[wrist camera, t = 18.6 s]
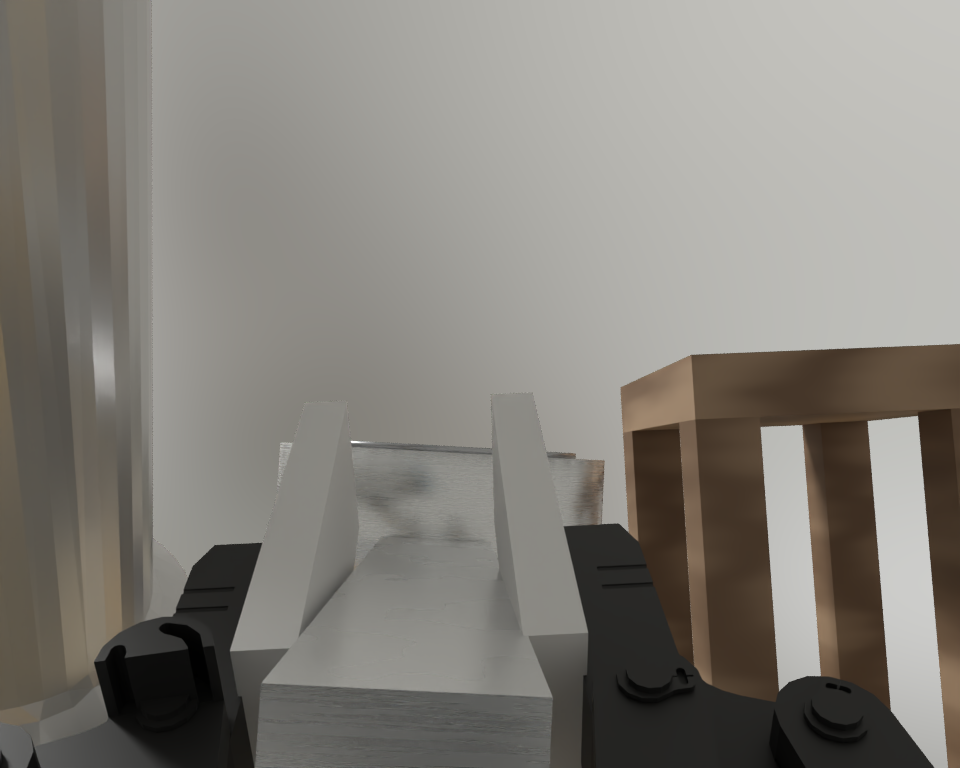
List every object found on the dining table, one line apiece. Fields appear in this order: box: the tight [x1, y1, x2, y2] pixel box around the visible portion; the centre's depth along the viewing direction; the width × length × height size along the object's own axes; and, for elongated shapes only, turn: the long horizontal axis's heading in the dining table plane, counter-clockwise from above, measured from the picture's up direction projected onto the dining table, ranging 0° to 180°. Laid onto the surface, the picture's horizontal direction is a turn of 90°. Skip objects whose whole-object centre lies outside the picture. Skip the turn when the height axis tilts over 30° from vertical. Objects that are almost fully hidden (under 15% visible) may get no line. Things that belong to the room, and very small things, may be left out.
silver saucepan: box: [255, 441, 604, 768], centre depth 19 cm, size 9×22×4 cm, turn 2°
